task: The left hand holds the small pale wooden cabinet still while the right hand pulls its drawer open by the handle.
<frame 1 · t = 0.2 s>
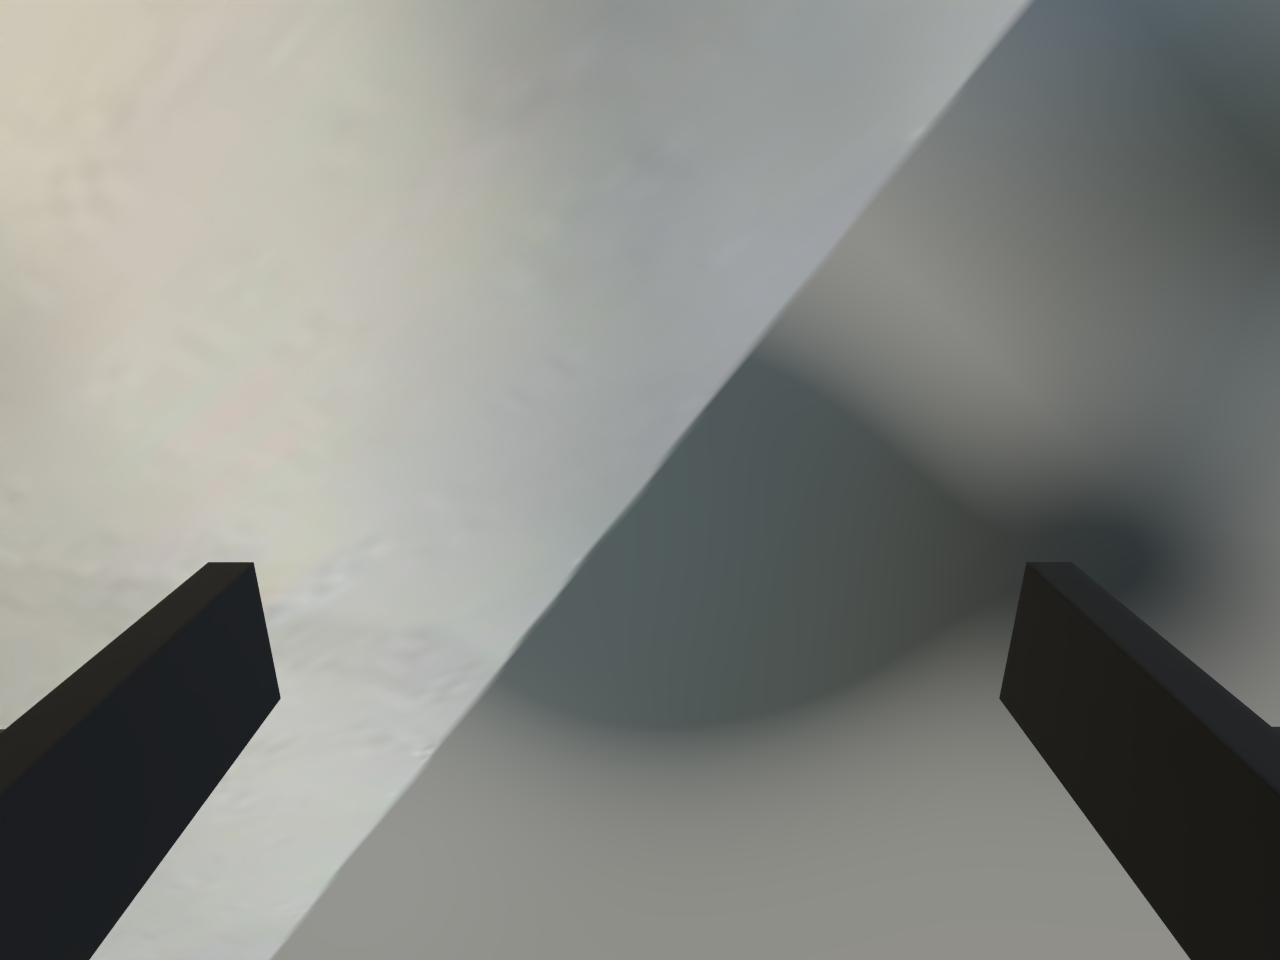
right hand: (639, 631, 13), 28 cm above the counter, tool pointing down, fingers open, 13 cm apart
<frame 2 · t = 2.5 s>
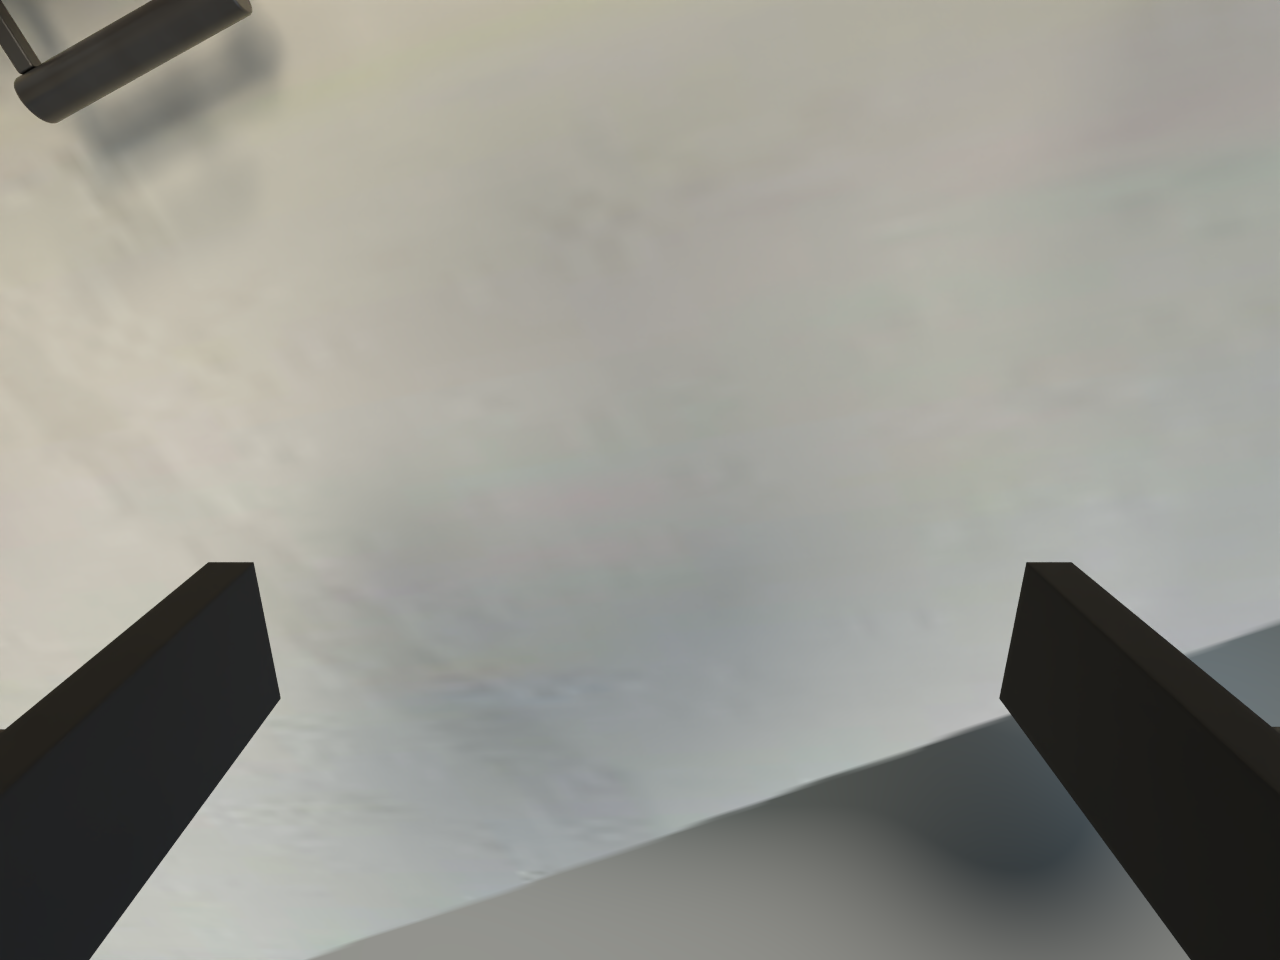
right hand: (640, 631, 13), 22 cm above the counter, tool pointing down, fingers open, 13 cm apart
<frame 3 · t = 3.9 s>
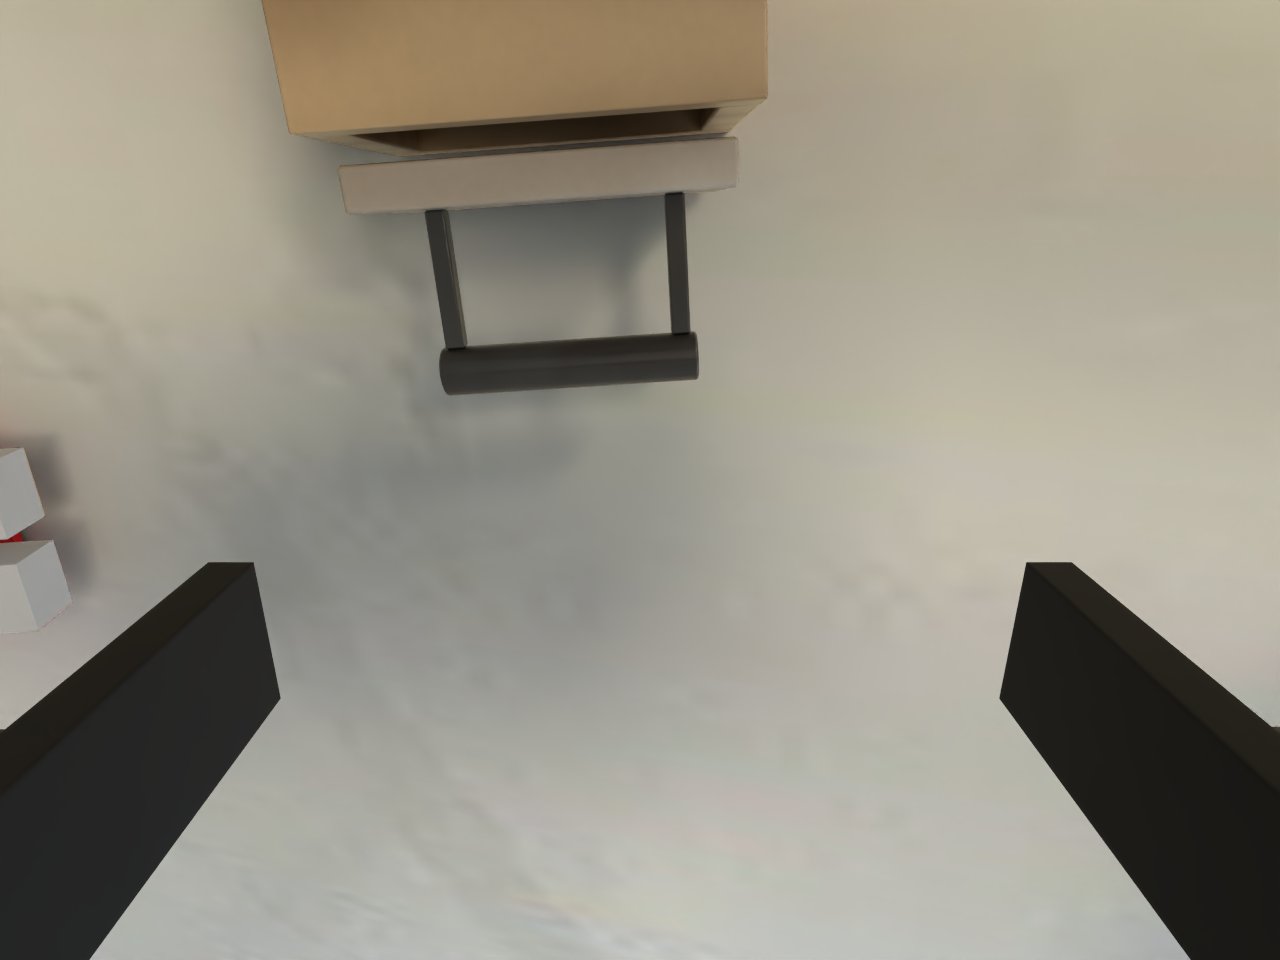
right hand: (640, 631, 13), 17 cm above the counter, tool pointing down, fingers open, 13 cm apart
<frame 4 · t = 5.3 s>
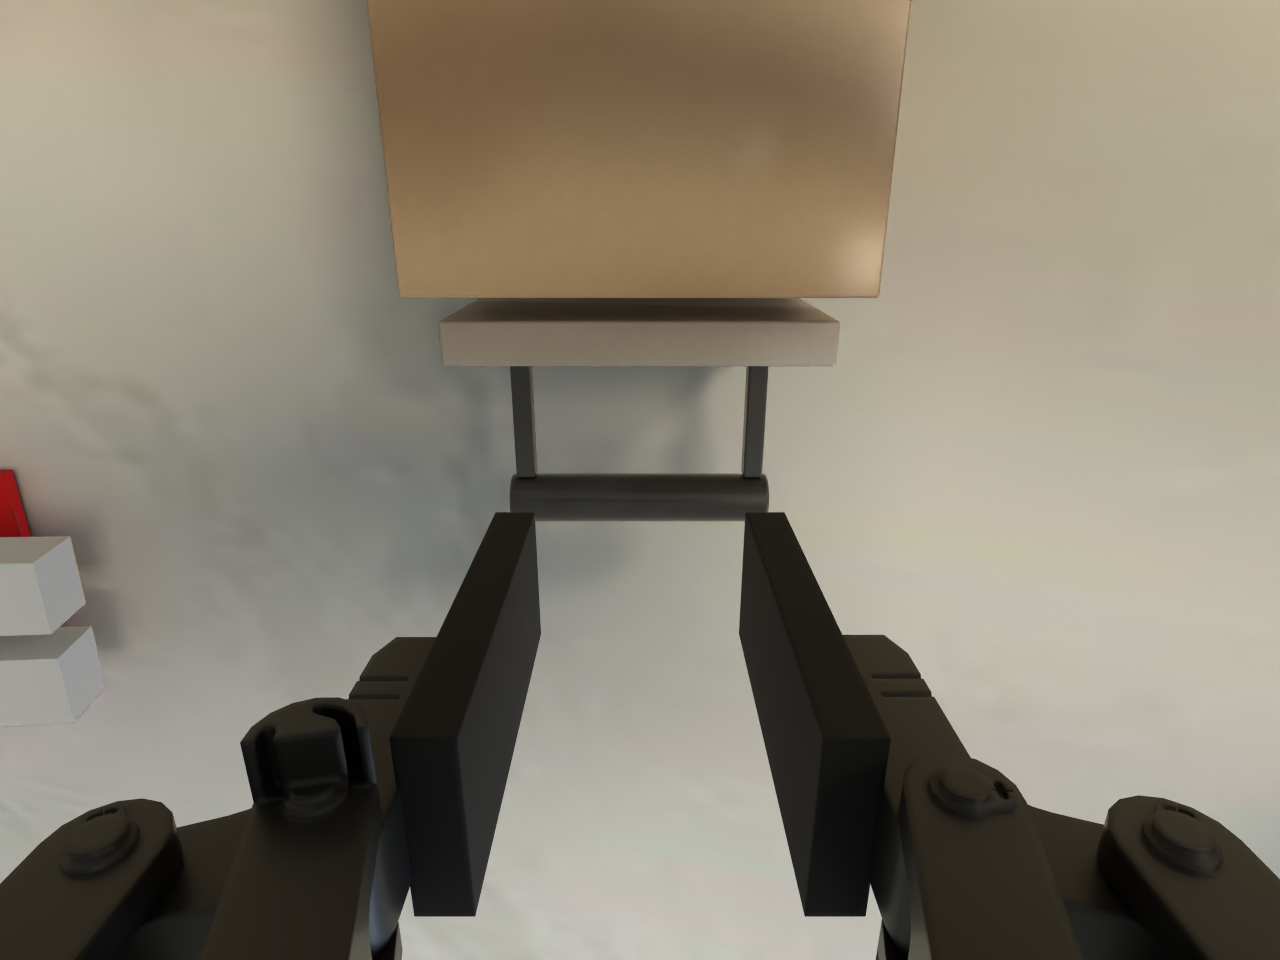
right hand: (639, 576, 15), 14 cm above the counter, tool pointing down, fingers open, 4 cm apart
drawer: (639, 76, 20), point 4 cm above the counter, slide at 0.7 cm
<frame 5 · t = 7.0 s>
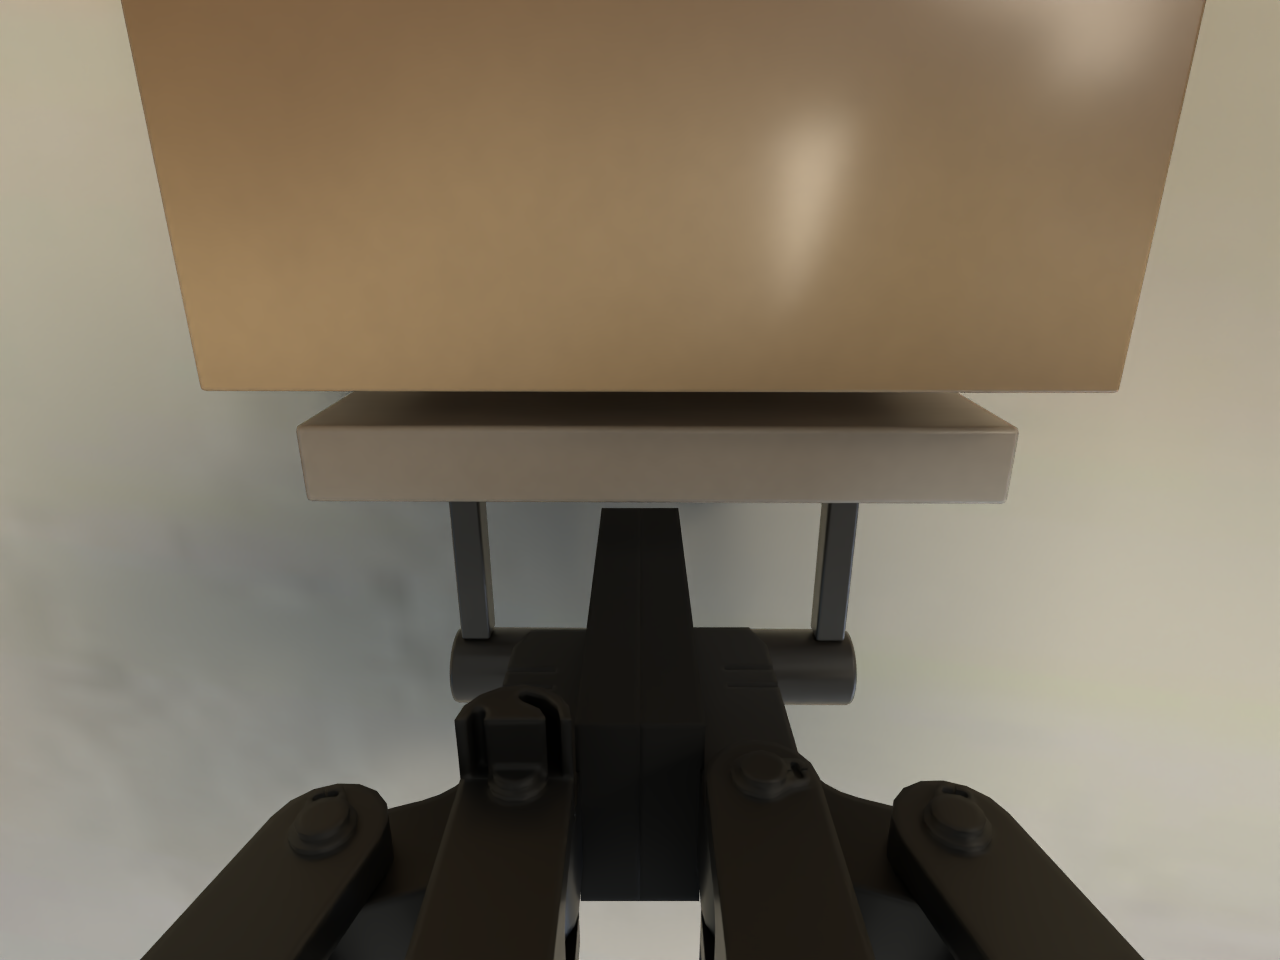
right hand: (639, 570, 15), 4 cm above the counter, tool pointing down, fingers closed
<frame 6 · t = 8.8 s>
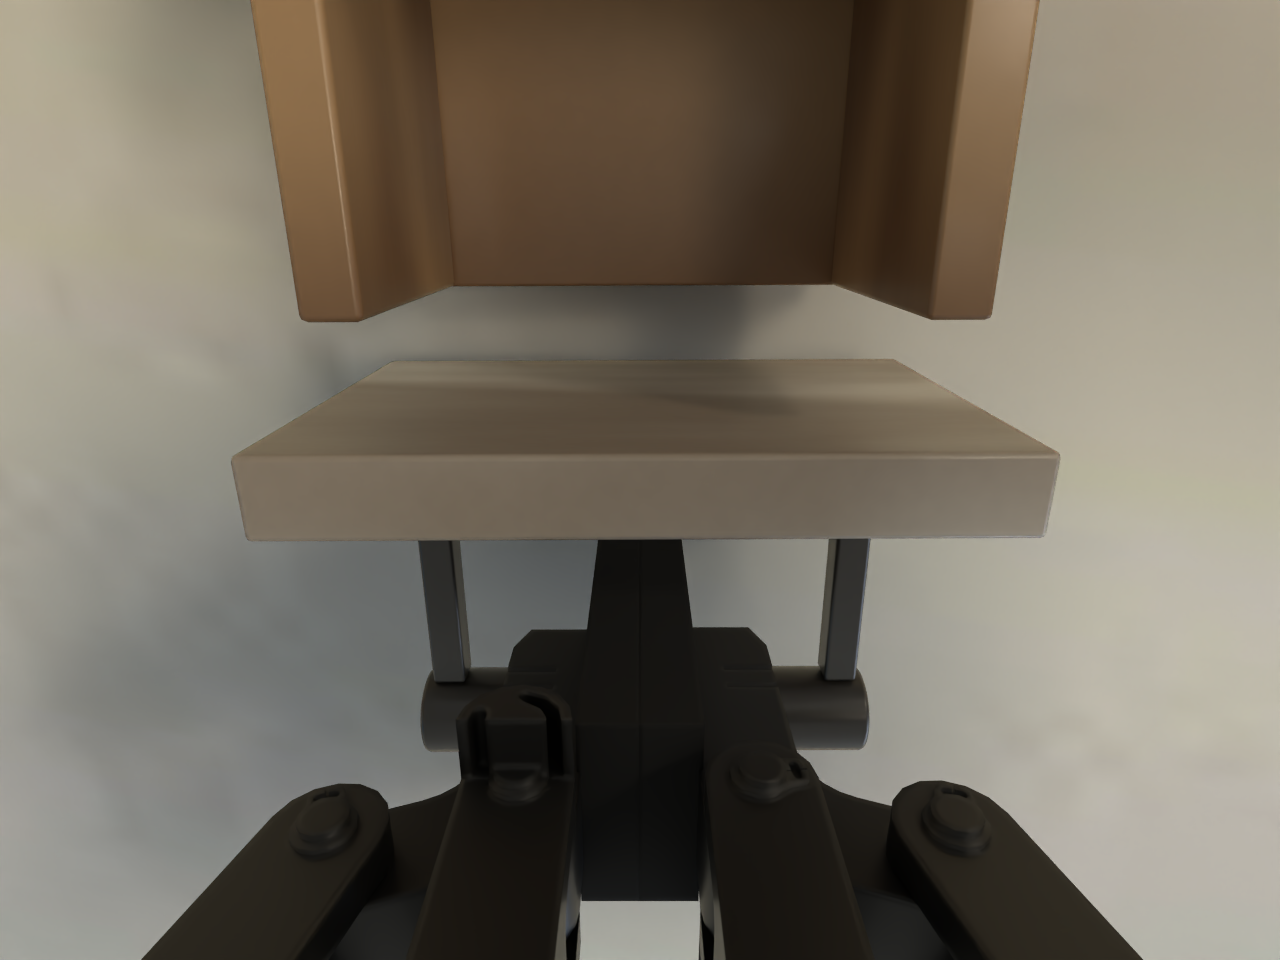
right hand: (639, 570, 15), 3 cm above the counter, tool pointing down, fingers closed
when the left hand's fingers open (4 cm above the counter, at t = 10.5 s): cabinet stays where it is, on the counter.
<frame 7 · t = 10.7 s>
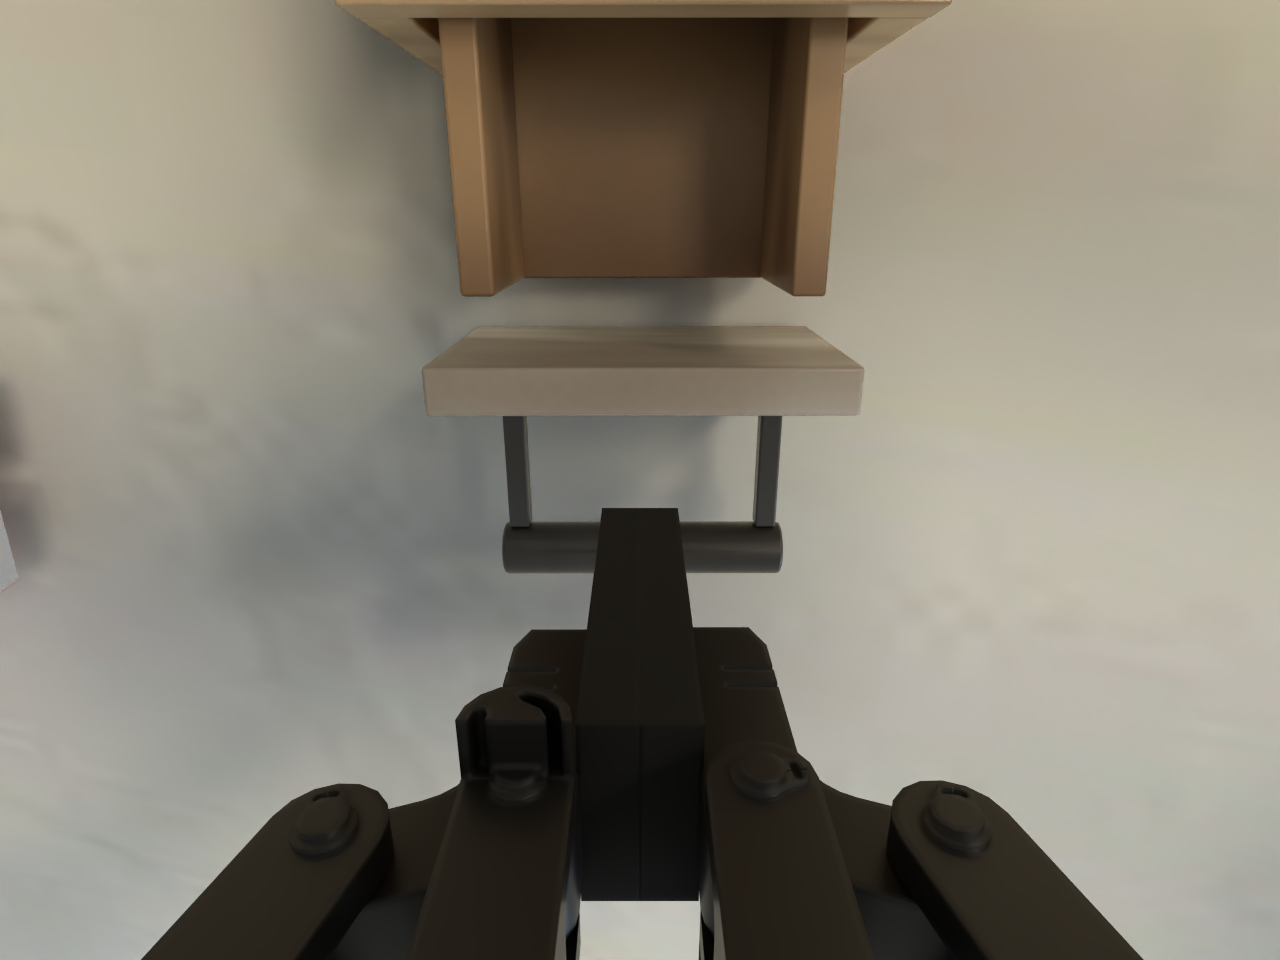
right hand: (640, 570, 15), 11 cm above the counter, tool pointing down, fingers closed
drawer: (642, 97, 18), point 4 cm above the counter, slide at 7.1 cm
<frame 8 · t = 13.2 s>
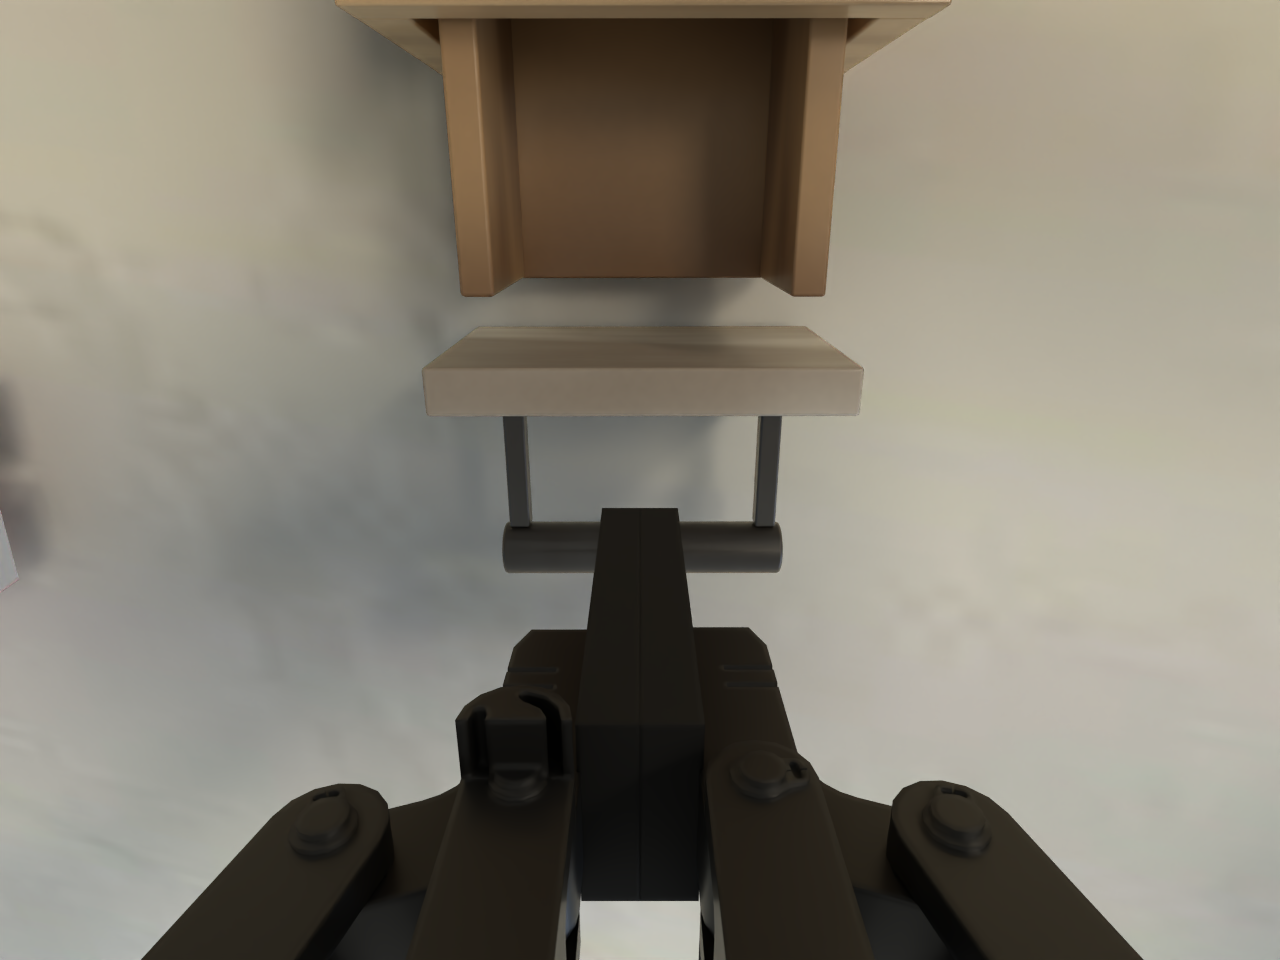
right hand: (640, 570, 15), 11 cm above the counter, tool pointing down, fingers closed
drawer: (642, 97, 18), point 4 cm above the counter, slide at 7.1 cm
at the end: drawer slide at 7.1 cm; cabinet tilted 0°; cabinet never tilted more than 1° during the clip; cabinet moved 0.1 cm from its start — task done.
